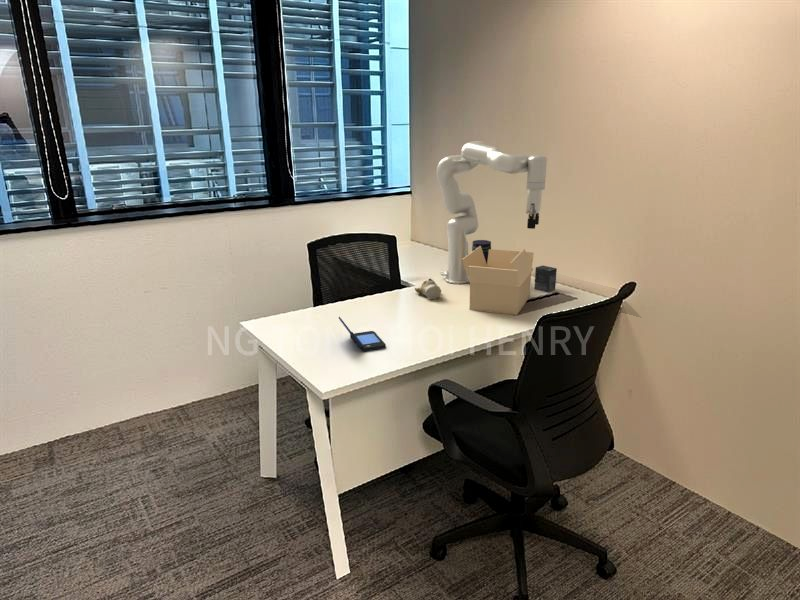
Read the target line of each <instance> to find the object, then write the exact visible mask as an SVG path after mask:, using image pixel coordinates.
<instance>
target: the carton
mask: <svg viewBox="0 0 800 600" xmlns="http://www.w3.org/2000/svg"><path fill="white" fill-rule="evenodd" d="M520 252H521V251H516V250H507V249H505V250H503V249H492V248H491V249H489V253H488V261H487V264H486V260H485V257H484V254H483V251H482V248H481V246H479V247H478V248H476V249H475V250H474V251H472V250H471V252H470V253H468V255H467V256H466V257H464V258H463V259H462V261H463V264H464V267H465V270H466V273H467V276H468V279H469V282H468V283H469V307H468V309H469V310H471V311H478V312H479V311H480V312H486V313H487V312H488V313H494V314H502V313H503V315H510V314H512V316H518V315H519V313H520V312H521V311H522V310H523V307H524V306H525V304H526V303H527V301H528V300H529V299H530V298H531V297H530V296H531V285H532V282H531V281H532V272H531V273H530V275H529V276H528V277H527V278H526V280H525V281H524V282H523V284H522V285H521V286H519V278H518V270H513V269H512V267H511V264H510V263H511V262H512V261H513V260H514V259H515V258H516V257H517V255H518V254H519V253H520ZM526 254H527V256H528V259H529V261H530V264H531V266H532V267H533V261H534V254H535V253H534V252H532V251H531V252H530V251H529V252H528V251H526Z"/></svg>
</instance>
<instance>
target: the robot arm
mask: <svg viewBox="0 0 800 600" xmlns="http://www.w3.org/2000/svg"><path fill="white" fill-rule="evenodd" d="M547 161H548V158H547V157H546V155H541V154H538V155H534V154H533V155H532V154H525V153H524V154H523V153H521V154H509V153H503V152H500V150H499V149H498V147H497V146H494V145H493V146H492V145H489V144H488V143H486V142H485V141H483V140H482V141H481V140H478V141H469V142H466V143H465V144H464V145H463V146H462V148H461V153H460V154H456V155H455V154H454V155H448V156H445V157H443V158H442V159H441V160H440V161H439V162H438V164H437V167H436V177H437V180H438V181H437V182H438V184H439V186H440V191H441V195H442V200H443V205H444V208H445V209H444V210H445V211H446V212H447V214H449V215H459V216H455V217H453V218H451V219H450V220H448V222H447V223H446V234H447V240H448V242H447V243H448V245H447V246H448V251H447V252H448V258H447V259H448V263H447V264H448V267H447V269H448V270H447V271H446V270H440V275H441V276H444V281H445V282H446V283H450V284H454V285H455V284H456V285H457V284H458V285H461V284H467V283H470V282H469V279H468V276H467V273H466V270H465V267H464V264H463V261H462V259H463V258H464V257H466V256H467V255H468V254H469V244H468V243H469V242H468V239H467V237H466V236H468V235H471V234H474V233H475V232H476V231H477V230H478V227H479V219H478V215H477V214H478V213H477V210H476V206H475V202H474V199H473V197H472V195H470V194H469V193H467V192H461V191H460V187H459V186H460V185H459V183H458V181H457V179H456V178H455V176H454V175H458V174H465V173H468V172H470V171H472V170H473V169H474V168H476V167H477V166H479V165H484V166H487V167H489V168H491V169H494V170H495V171H499V172H501V173H506V174H513V175H516V174H519V173H520V174H521V173H522V174H523V173H526V188H525V189H526V191H527V197H526V205H525V207H526V209H525V213H526V214H528V215H527V216H528V217H527V224H526V225H527V227H526V228H527V229H532V230H533V229H534V230H535V229H536V225H539V223H540V211H541V208H542V207H541V205H542V195H543V191H545V190H546V189H545V188H546V177H547V176H546V175H547Z"/></svg>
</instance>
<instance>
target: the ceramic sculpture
mask: <svg viewBox="0 0 800 600" xmlns="http://www.w3.org/2000/svg"><path fill="white" fill-rule="evenodd" d="M414 291H415V292H416V293H417V294H420V295H423V296H426V298H427V299H429V300H432V299H433V300H434V301H435V300H437V299H439V298H440V296H441V294H442V289H441V287H440V286H438V284H437V283H436V281H434V279H432V278H428V279H426V280H424V281H423V282H422V283H421V286H420V287H414ZM433 300H432V301H433Z"/></svg>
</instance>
